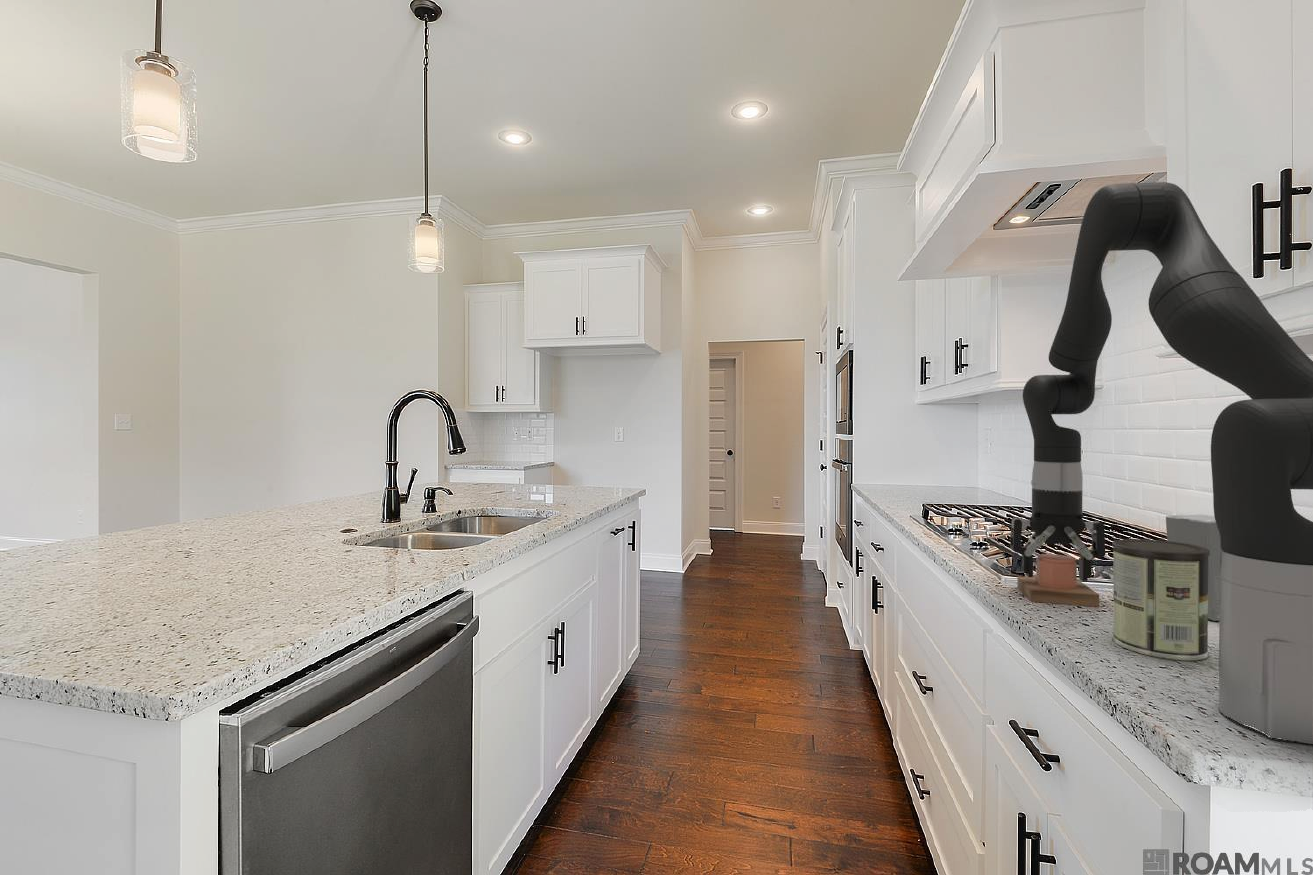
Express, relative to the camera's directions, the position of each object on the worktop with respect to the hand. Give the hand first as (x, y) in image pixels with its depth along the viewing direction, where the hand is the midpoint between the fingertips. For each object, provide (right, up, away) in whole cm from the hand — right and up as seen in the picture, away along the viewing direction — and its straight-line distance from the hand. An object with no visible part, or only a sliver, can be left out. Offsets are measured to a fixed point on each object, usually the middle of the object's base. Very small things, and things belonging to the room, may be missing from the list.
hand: (1056, 578), depth 108 cm
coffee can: (-2, -4, -25) cm, 25 cm away
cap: (0, -1, 0) cm, 1 cm away
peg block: (0, -3, 0) cm, 3 cm away
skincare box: (+18, -4, -10) cm, 21 cm away
